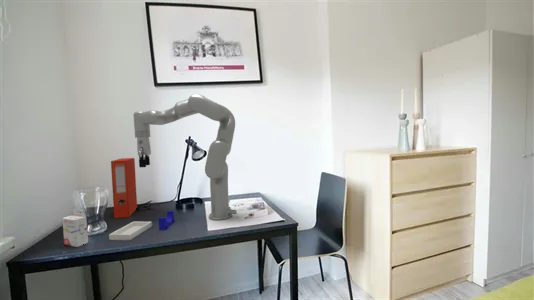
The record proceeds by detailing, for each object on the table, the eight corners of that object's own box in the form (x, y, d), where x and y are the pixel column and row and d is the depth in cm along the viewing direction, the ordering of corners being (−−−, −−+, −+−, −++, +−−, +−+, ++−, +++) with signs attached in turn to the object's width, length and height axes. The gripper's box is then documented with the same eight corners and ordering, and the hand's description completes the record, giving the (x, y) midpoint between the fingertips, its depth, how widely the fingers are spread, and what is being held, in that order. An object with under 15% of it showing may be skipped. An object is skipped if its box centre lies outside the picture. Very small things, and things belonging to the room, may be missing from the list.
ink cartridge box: (63, 245, 113) (60, 211, 112) (75, 240, 118) (72, 207, 117) (77, 247, 110) (74, 212, 109) (89, 242, 115) (86, 209, 114)
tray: (152, 226, 132) (151, 221, 132) (130, 240, 115) (129, 234, 115) (133, 226, 134) (133, 221, 133) (109, 240, 117) (108, 234, 117)
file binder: (137, 208, 167) (134, 157, 165) (130, 216, 150) (126, 160, 148) (123, 209, 165) (120, 158, 163) (114, 218, 148) (110, 161, 146)
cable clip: (165, 222, 139) (165, 210, 139) (174, 222, 139) (173, 210, 139) (156, 230, 127) (155, 218, 127) (165, 230, 127) (164, 218, 127)
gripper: (146, 134, 136) (149, 167, 137) (153, 134, 153) (155, 164, 154) (130, 135, 134) (133, 168, 135) (139, 135, 151) (141, 164, 152)
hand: (144, 166), depth 145 cm, fingers open, 9 cm apart
